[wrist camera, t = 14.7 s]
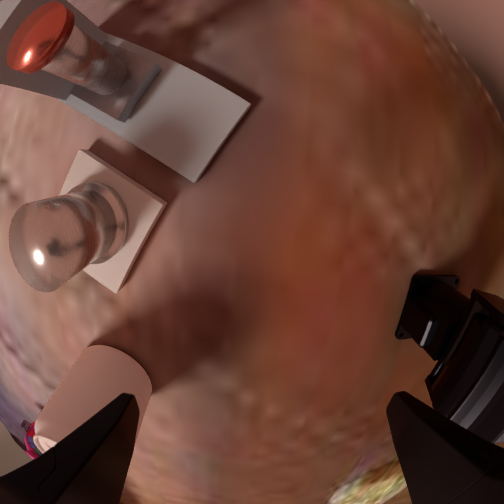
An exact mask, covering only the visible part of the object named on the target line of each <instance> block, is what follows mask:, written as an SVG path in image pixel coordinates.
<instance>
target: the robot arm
mask: <svg viewBox="0 0 504 504" xmlns="http://www.w3.org/2000/svg"><path fill="white" fill-rule="evenodd" d="M417 279H418V280H417ZM416 280H417V282H416ZM455 280H456V281H455ZM459 282H460V278H459V277H458V276H456V275H414V276H413V277H412V279H411V283H410V287H409V290H408V294H407V298H406V301H405V304H404V308H403V311H402V314H401V317H400V320H399V324H398V327H397V329H396V332H395V337H396V338H397V339H399V340H400V339H408V338H412V339H413V340H414V341H415V342H416V343H417V344H418V345H419V347H421V348H423V349H424V350H425V351H426V352H427V353H428V355H429V356H430V357H431V358H432V359H433V360H434V361H436V360H438V362H437V364H436V365H435V367H434V368H433V370H432V372H431V373H430V375H428V376H427V378H426V379H425V383H426V386H427V389H428V392H429V395H430V398H431V401H432V406H433V408H431V407H429V406H428V405H426V404H425V403H423V402H421V401H420V400H418V399H417V398H415V397H413V396H412V395H410V394H409V393H407V392H405V391H401V392H397V393H395V394H394V395H393V397H392V399H391V400H390V402H389V404H388V406H387V409H386V413H387V417H388V421H389V426H390V430H391V435H392V439H393V443H394V447H395V450H396V453H397V456H398V459H399V462H400V465H401V468H402V471H403V474H404V477H405V481H406V484H407V487H408V491H409V494H410V497H411V501H412V504H504V448H502V447H500V446H497V445H495V444H494V443H504V299H502V298H500V297H499V296H497V295H493V294H490V293H486V292H483V291H480V290H476V289H473V291H472V293H471V298H470V299H469V298H467V297H466V296H465V295H463V294H462V293H460V292H459V291H457V288H458V285H459ZM399 334H400V335H399ZM139 415H140V410H139V407H138V404H137V400H136V397H135V396H134V395H133V394H129V393H121V394H120V395H119V396H117V397H116V398H115V399H114V400H112V401H111V402H110V403H109V404H107V405H106V406H105V407H103V408H102V409H101V410H100V411H98V412H97V413H96V414H95V415H93V416H92V417H91V418H89V419H88V420H87V421H86V422H84V423H83V424H82V425H80V426H79V427H78V428H77V429H75V430H74V431H73V432H71V433H70V434H69V435H67V436H66V437H65V438H63V439H62V440H61V441H59V442H58V443H57V444H55V446H53V447H51V448H50V449H49V450H47V451H46V452H44V453H43V454H42V455H40V456H39V457H37V458H36V459H34V460H32V461H30V462H29V463H27V464H25V465H23V466H21V467H20V468H17V469H16V470H14V471H12V472H10V473H8V474H6V475H4V476H1V477H0V504H119V502H120V498H121V494H122V491H123V487H124V483H125V479H126V476H127V472H128V469H129V465H130V462H131V458H132V455H133V451H134V445H135V439H136V433H137V427H138V421H139Z"/></svg>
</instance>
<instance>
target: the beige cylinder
mask: <svg viewBox="0 0 504 504" xmlns="http://www.w3.org/2000/svg"><path fill="white" fill-rule="evenodd" d="M121 393H129V394H133V395H134V396H135V397H136V400H137V404H138V407H139V410H140V415H139V421H138V427H137V433H136V439H137V436H138V433H139V430H140V426H141V423H142V420H143V417H144V414H145V411H146V408H147V405H148V402H149V399H150V396H151V393H152V385H151V381H150V378H149V376H148V375H147V373H146V372H145V370H144V369H143V368H142V367H141V366H140V364H139V363H137V362H136V361H135V360H134V359H133V358H131V357H130V356H129V355H127V354H125V353H124V352H122V351H120V350H118V349H115V348H113V347H109V346H105V345H93V346H90V347H87V348H86V349H84V350H83V352H82V353H81V354H80V356H79V357H78V358H77V360H76V361H75V363H74V364H73V365H72V367H71V368H70V370H69V371H68V372H67V374H66V375H65V377H64V378H63V380H62V381H61V382H60V384H59V385H58V387H57V388H56V390H55V391H54V393H53V394H52V396H51V397H50V399H49V400H48V402H47V403H46V405H45V407H44V408H43V410H42V411H41V413H40V414H39V416H38V418H37V419H36V421H35V435H34V437H33V440H34V443H35V445H36V446H37V448H38V449H39V450H40V451H41V452H42V453H44V452H46V451H47V450H49V449H50V448H51V447H53V446H55V444H57V443H58V442H59V441H61V440H62V439H63V438H65V437H66V436H67V435H69V434H70V433H71V432H73V431H74V430H75V429H77V428H78V427H79V426H80V425H82V424H83V423H84V422H86V421H87V420H88V419H89V418H91V417H92V416H93V415H95V414H96V413H97V412H98V411H100V410H101V409H102V408H103V407H105V406H106V405H107V404H109V403H110V402H111V401H112V400H114V399H115V398H116V397H117V396H119V395H120V394H121ZM136 439H135V442H136ZM134 446H135V445H134Z"/></svg>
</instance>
